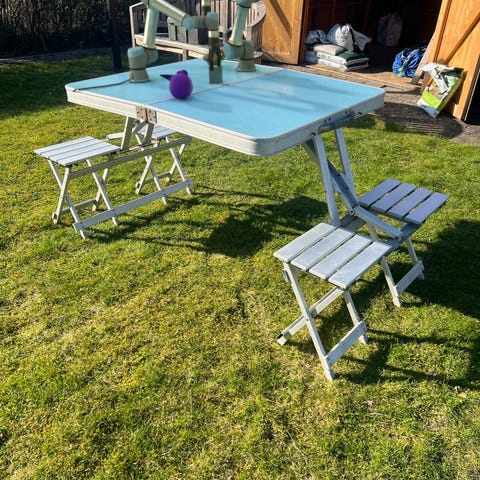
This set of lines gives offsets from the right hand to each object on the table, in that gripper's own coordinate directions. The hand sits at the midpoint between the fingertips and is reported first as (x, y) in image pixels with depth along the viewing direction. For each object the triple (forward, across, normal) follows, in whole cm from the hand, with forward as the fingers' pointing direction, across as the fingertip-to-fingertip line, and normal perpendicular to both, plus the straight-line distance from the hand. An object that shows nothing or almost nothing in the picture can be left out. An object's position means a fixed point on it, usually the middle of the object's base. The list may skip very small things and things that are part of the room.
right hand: (207, 34), depth 371 cm
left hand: (+16, -58, -30) cm, 67 cm away
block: (+26, -57, -30) cm, 70 cm away
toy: (+26, -107, -25) cm, 113 cm away
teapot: (+26, +7, -2) cm, 27 cm away
